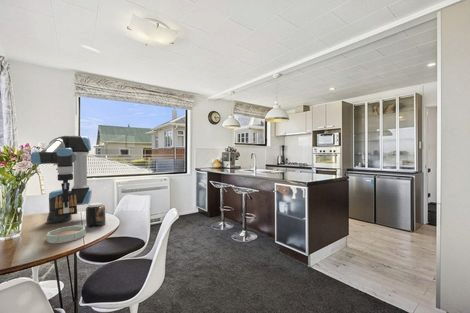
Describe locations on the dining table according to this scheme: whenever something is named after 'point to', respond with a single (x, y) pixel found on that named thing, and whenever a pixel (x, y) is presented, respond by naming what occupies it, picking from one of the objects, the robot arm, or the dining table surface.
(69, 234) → the octagonal tray
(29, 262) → the dining table surface
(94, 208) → the jar
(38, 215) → the dining table surface
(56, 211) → the ammunition clip
